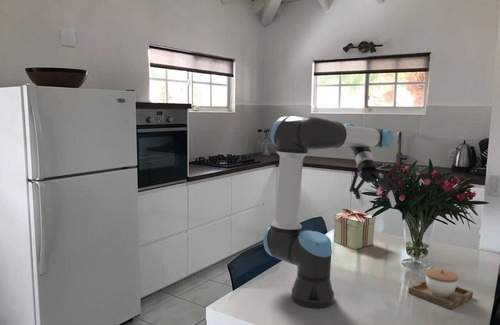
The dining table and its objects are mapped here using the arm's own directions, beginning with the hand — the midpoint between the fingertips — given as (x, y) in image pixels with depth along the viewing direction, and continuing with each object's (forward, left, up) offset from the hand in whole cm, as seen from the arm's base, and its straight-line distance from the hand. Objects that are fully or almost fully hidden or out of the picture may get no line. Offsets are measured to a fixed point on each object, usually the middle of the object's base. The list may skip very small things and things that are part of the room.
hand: (378, 205), depth 162 cm
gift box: (+25, +30, -30) cm, 49 cm away
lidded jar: (+4, -26, -29) cm, 39 cm away
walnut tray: (+4, -26, -29) cm, 39 cm away
